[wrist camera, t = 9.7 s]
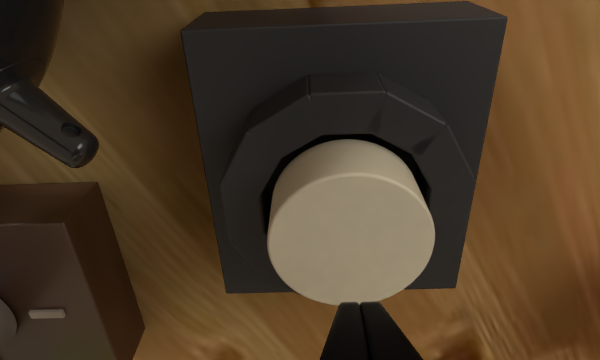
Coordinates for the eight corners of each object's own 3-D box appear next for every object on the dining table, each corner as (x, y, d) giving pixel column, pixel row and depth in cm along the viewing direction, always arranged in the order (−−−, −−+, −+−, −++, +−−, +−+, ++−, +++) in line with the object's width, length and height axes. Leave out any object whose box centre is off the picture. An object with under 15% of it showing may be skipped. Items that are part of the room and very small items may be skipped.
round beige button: (277, 261, 14) (273, 309, 12) (266, 140, 12) (259, 176, 10) (410, 258, 14) (426, 305, 12) (425, 135, 12) (446, 170, 10)
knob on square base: (237, 243, 19) (217, 330, 15) (203, 12, 14) (159, 44, 10) (434, 238, 19) (471, 325, 15) (469, 0, 14) (541, 28, 10)
